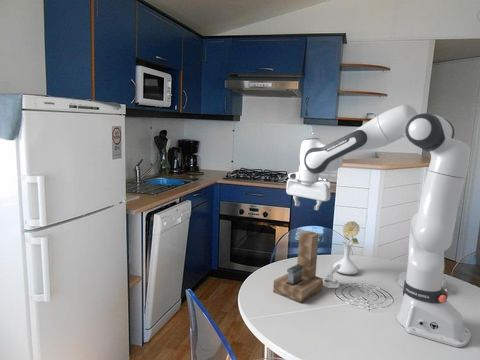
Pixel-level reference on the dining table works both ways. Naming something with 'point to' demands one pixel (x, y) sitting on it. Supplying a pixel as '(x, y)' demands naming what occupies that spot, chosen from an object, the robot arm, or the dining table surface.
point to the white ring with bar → (331, 278)
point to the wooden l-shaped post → (309, 279)
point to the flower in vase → (348, 249)
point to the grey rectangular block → (295, 274)
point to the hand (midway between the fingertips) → (306, 207)
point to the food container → (403, 277)
